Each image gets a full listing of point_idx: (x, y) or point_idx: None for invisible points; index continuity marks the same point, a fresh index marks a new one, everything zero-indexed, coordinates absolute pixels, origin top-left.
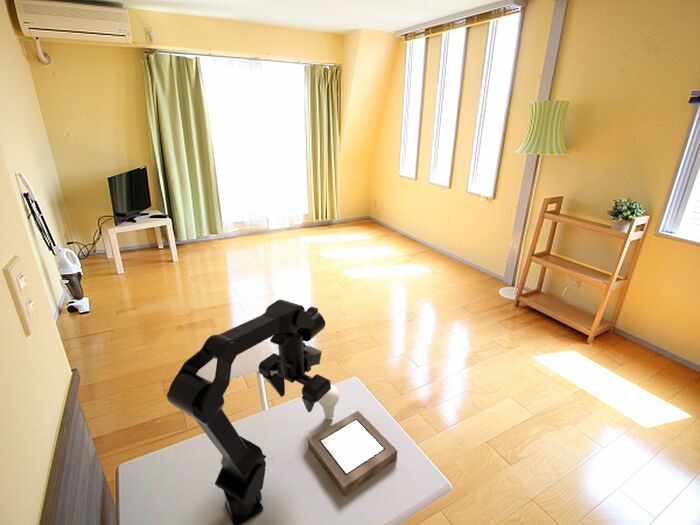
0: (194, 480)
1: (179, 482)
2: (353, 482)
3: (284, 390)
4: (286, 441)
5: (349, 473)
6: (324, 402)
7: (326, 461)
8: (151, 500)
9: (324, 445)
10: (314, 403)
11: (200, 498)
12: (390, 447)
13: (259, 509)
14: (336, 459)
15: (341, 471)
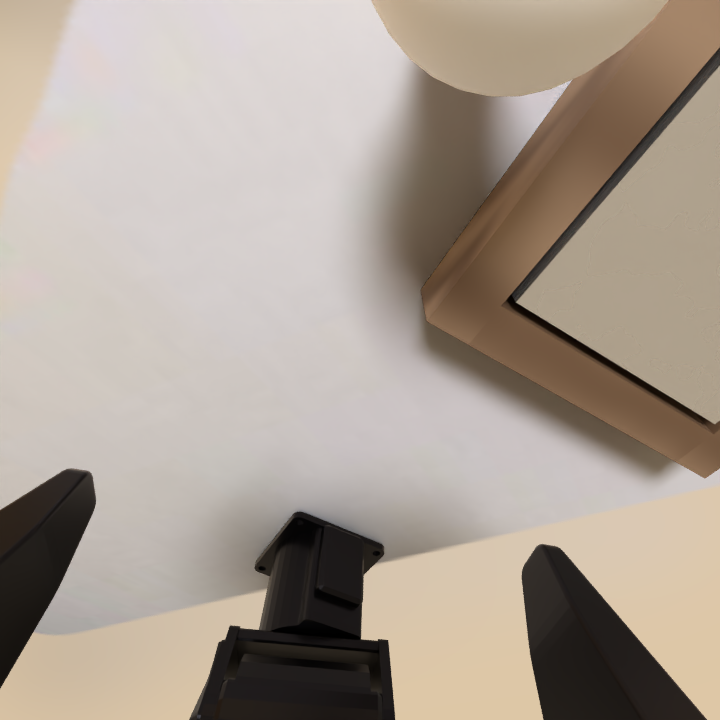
0: (94, 541)
1: None
2: None
3: (49, 528)
4: (280, 298)
5: None
6: (528, 92)
7: (590, 403)
8: (55, 602)
9: (550, 322)
10: (649, 657)
11: (171, 568)
12: None
13: (374, 556)
14: (647, 376)
15: (686, 423)
